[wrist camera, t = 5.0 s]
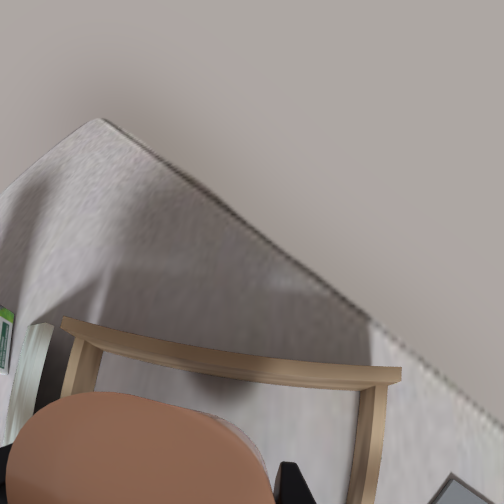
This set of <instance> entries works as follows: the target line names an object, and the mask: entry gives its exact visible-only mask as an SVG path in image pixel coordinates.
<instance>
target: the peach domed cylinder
mask: <svg viewBox="0 0 504 504" xmlns="http://www.w3.org/2000/svg"><path fill="white" fill-rule="evenodd" d="M6 496H7V501H8V504H275V501H274V497H273V493H272V489H271V485H270V481H269V477H268V473H267V469H266V466H265V462H264V460H263V458H262V455H261V453H260V451H259V450H258V448H257V447H256V445H255V444H254V443H253V441H252V440H251V439H250V438H249V437H248V436H247V435H246V434H245V433H244V432H243V431H242V430H241V429H239V428H238V427H236V426H235V425H234V424H232V423H230V422H228V421H227V420H225V419H223V418H220V417H218V416H216V415H212V414H209V413H205V412H200V411H195V410H191V409H186V408H182V407H177V406H173V405H169V404H165V403H161V402H157V401H153V400H150V399H146V398H142V397H138V396H134V395H130V394H123V393H116V392H88V393H79V394H75V395H71V396H67V397H63V398H61V399H59V400H56V401H54V402H52V403H50V404H48V405H47V406H45V407H43V408H42V409H40V410H39V411H38V412H36V413H35V414H34V415H33V416H32V417H31V418H30V419H29V420H28V421H27V422H26V423H25V425H24V426H23V427H22V428H21V430H20V431H19V433H18V435H17V437H16V438H15V440H14V442H13V445H12V448H11V450H10V453H9V457H8V462H7V467H6Z"/></svg>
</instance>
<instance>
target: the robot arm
mask: <svg viewBox="0 0 504 504" xmlns="http://www.w3.org/2000/svg"><path fill="white" fill-rule="evenodd" d="M12 445H13V443H11V444H8V445H6V446H3V447H1V448H0V504H8V501H7V496H6V467H7V462H8V457H9V453H10V450H11V448H12ZM273 497H274V501H275V504H316V502H315V500H314V498H313V496H312V494H311V492H310V490H309V488H308V486H307V484H306V482H305V480H304V478H303V476H302V474H301V472H300V469H299V467H298V465H297V464H296V463H294V462H284V461H283V462H281V463H280V466H279V469H278V473H277V476H276V480H275V486H274V493H273Z"/></svg>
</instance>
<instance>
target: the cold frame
mask: <svg viewBox="0 0 504 504" xmlns="http://www.w3.org/2000/svg"><path fill="white" fill-rule="evenodd" d="M60 328H61V329H63V330H64V331H66V332H68V333H69V334H71V335H73V336H74V337H75V339H74V343H73V346H72V350H71V354H70V358H69V362H68V365H67V370H66V374H65V378H64V382H63V387H62V391H61V396H60V399H61V398H63V397H67V396H71V395H75V394H79V393H88V392H94V387H95V383H96V378H97V374H98V370H99V366H100V362H101V358H102V354H103V351H106V352H109V353H113V354H117V355H121V356H124V357H128V358H132V359H136V360H140V361H144V362H149V363H153V364H157V365H162V366H166V367H171V368H176V369H181V370H186V371H191V372H196V373H201V374H207V375H213V376H219V377H225V378H231V379H237V380H244V381H251V382H259V383H267V384H275V385H284V386H294V387H305V388H317V389H332V390H350V391H360V403H359V414H358V424H357V433H356V442H355V450H354V457H353V464H352V471H351V477H350V483H349V489H348V495H347V501H346V504H374V500H375V494H376V488H377V482H378V476H379V469H380V462H381V455H382V447H383V438H384V428H385V417H386V404H387V389H388V385H391V384H394V383H397V382H400V381H401V371H402V367H383V366H361V365H344V364H330V363H318V362H307V361H297V360H287V359H278V358H270V357H262V356H254V355H247V354H240V353H233V352H227V351H220V350H214V349H208V348H202V347H196V346H191V345H185V344H180V343H175V342H170V341H165V340H160V339H155V338H150V337H146V336H141V335H137V334H132V333H128V332H124V331H119V330H115V329H111V328H107V327H103V326H99V325H95V324H91V323H88V322H84V321H80V320H77V319H73V318H69V317H66V316H63V319H62V323H61V326H60ZM53 329H54V326H53V325H51V324H49V323H47V322H46V323H41V324H36V325H31V326H28V329H27V332H26V336H25V339H24V342H23V346H22V350H21V353H20V357H19V361H18V365H17V369H16V373H15V378H14V382H13V387H12V391H11V396H10V402H9V407H8V413H7V419H6V425H5V432H4V440H3V446H6V445H8V444H11V443H13V442H14V440H15V438H16V437H17V435H18V433H19V431H20V430H21V428H22V427H23V426H24V425H25V423H26V422H27V421H28V420H29V419H30V418H31V417H32V416H33V411H34V406H35V401H36V396H37V391H38V387H39V382H40V378H41V374H42V369H43V365H44V361H45V358H46V354H47V350H48V346H49V343H50V339H51V336H52V333H53Z"/></svg>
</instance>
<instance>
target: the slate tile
mask: <svg viewBox="0 0 504 504" xmlns="http://www.w3.org/2000/svg"><path fill="white" fill-rule="evenodd" d="M432 504H488V503H486V502H485V501H483V500H482V499H481V498H479V497H478V496H476V495H475V494H473V493H472V492H471V491H469V490H468V489H466V488H465V487H464V486H462V485H461V484H459V483H458V482H457V481H455V480H454V479H450V480H449V482H448V483H447V485H446V486H445V487H444V489H443V490H442V491H441V493H440V494H439V495H438V497H437V498H436V499H435V501H434V502H433V503H432Z"/></svg>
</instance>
